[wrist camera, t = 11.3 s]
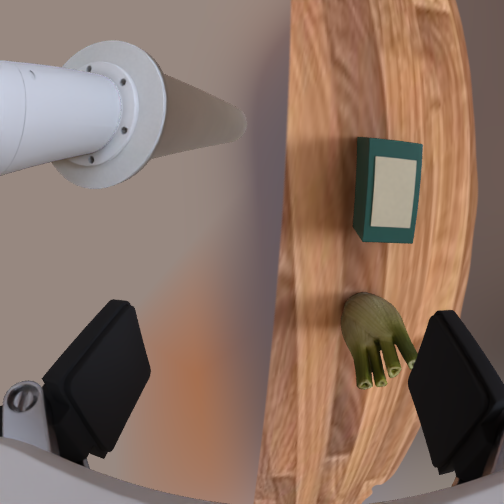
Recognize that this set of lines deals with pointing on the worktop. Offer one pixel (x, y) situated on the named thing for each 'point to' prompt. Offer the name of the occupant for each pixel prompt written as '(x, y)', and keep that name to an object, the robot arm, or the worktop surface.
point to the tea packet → (387, 190)
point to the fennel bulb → (375, 338)
